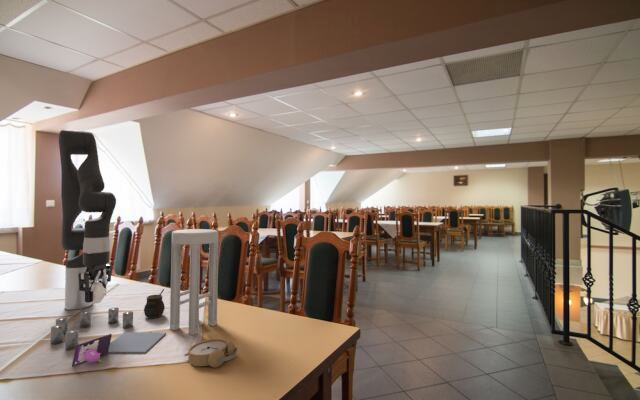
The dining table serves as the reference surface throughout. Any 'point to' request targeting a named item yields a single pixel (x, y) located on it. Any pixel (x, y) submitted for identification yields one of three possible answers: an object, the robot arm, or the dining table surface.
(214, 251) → the stool
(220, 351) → the alarm clock
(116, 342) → the rubber mat
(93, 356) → the game card
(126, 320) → the posts
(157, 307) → the mate gourd
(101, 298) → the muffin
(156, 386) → the dining table surface
